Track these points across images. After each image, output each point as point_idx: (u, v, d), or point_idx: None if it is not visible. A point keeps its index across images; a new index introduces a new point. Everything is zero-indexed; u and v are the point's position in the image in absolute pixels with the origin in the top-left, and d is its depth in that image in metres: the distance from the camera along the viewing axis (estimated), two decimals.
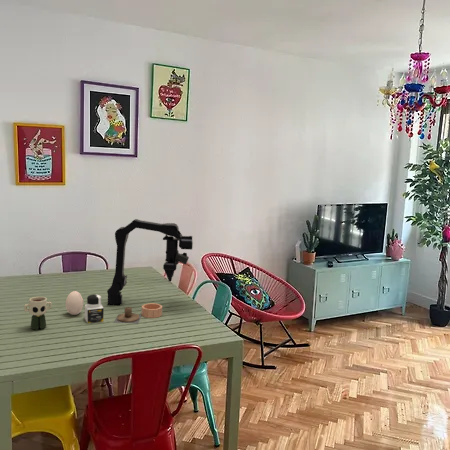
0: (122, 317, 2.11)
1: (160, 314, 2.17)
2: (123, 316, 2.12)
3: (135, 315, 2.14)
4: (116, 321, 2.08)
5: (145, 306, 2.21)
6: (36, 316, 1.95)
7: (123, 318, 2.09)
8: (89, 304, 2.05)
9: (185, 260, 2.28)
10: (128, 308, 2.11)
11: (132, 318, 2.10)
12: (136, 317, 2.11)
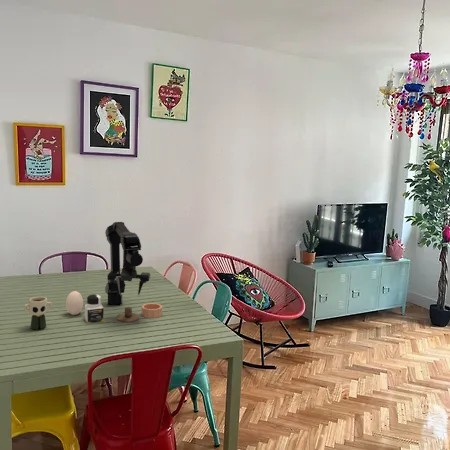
0: (122, 317, 2.11)
1: (160, 314, 2.17)
2: (123, 316, 2.12)
3: (135, 315, 2.14)
4: (116, 321, 2.08)
5: (145, 306, 2.21)
6: (36, 316, 1.95)
7: (123, 318, 2.09)
8: (89, 304, 2.05)
9: (120, 276, 2.02)
10: (128, 308, 2.11)
11: (132, 318, 2.10)
12: (136, 317, 2.11)
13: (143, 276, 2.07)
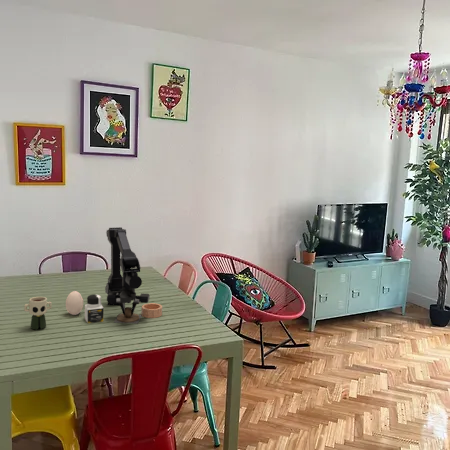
0: (122, 317, 2.11)
1: (160, 314, 2.17)
2: (123, 316, 2.12)
3: (135, 315, 2.14)
4: (116, 321, 2.08)
5: (145, 306, 2.21)
6: (36, 316, 1.95)
7: (123, 318, 2.09)
8: (89, 304, 2.05)
9: (120, 298, 2.03)
10: (128, 308, 2.11)
11: (132, 318, 2.10)
12: (136, 317, 2.12)
13: (142, 298, 2.08)
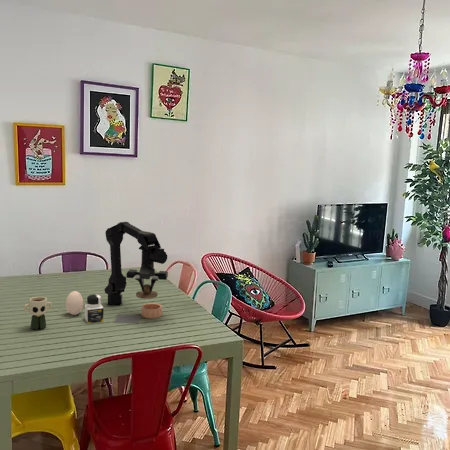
0: (141, 293, 2.15)
1: (160, 314, 2.17)
2: (142, 293, 2.16)
3: (154, 292, 2.18)
4: (116, 321, 2.08)
5: (145, 306, 2.21)
6: (36, 316, 1.95)
7: (142, 294, 2.13)
8: (89, 304, 2.05)
9: (139, 274, 2.07)
10: (147, 285, 2.15)
11: (151, 295, 2.14)
12: (155, 294, 2.15)
13: (161, 274, 2.12)
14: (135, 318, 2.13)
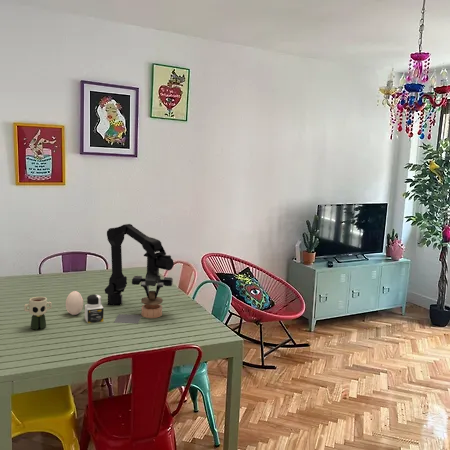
0: (146, 300, 2.17)
1: (160, 314, 2.17)
2: (147, 299, 2.18)
3: (158, 298, 2.20)
4: (116, 321, 2.08)
5: (145, 306, 2.21)
6: (36, 316, 1.95)
7: (147, 301, 2.16)
8: (89, 304, 2.05)
9: (145, 281, 2.10)
10: (152, 291, 2.17)
11: (156, 301, 2.16)
12: (160, 300, 2.18)
13: (166, 281, 2.14)
14: (135, 318, 2.13)
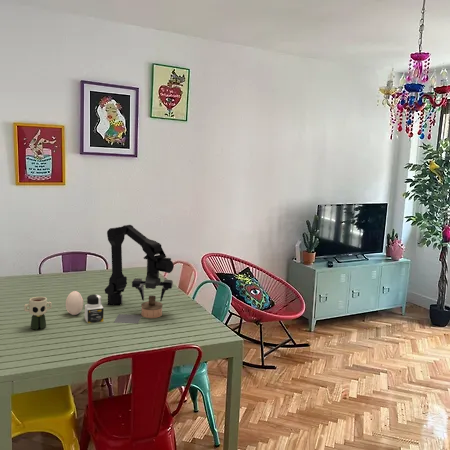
0: (146, 305, 2.17)
1: (160, 314, 2.17)
2: (147, 304, 2.18)
3: (158, 303, 2.21)
4: (116, 321, 2.08)
5: None
6: (36, 316, 1.95)
7: (147, 306, 2.16)
8: (89, 304, 2.05)
9: (145, 283, 2.10)
10: (152, 296, 2.18)
11: (156, 306, 2.16)
12: (160, 305, 2.18)
13: (166, 283, 2.14)
14: (135, 318, 2.13)
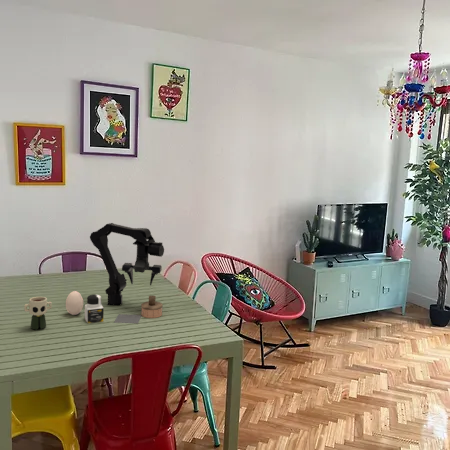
0: (146, 305, 2.17)
1: (160, 314, 2.17)
2: (147, 304, 2.18)
3: (158, 303, 2.21)
4: (116, 321, 2.08)
5: None
6: (36, 316, 1.95)
7: (147, 306, 2.16)
8: (89, 304, 2.05)
9: (134, 267, 2.18)
10: (152, 296, 2.18)
11: (156, 306, 2.16)
12: (160, 305, 2.18)
13: (155, 268, 2.23)
14: (135, 318, 2.13)
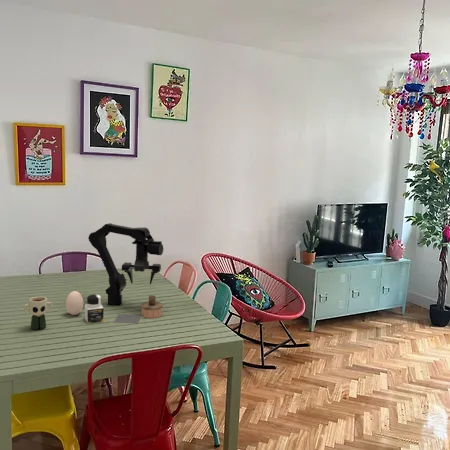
0: (146, 305, 2.17)
1: (160, 314, 2.17)
2: (147, 304, 2.18)
3: (158, 303, 2.21)
4: (116, 321, 2.08)
5: None
6: (36, 316, 1.95)
7: (147, 306, 2.16)
8: (89, 304, 2.05)
9: (134, 266, 2.19)
10: (152, 296, 2.18)
11: (156, 306, 2.16)
12: (160, 305, 2.18)
13: (154, 267, 2.23)
14: (135, 318, 2.13)
